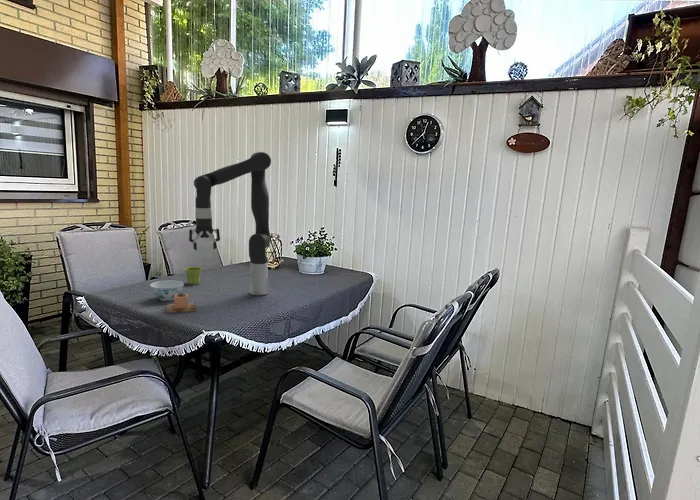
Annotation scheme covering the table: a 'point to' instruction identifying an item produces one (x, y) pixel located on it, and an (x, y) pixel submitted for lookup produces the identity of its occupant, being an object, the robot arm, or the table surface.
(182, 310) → the shaft block
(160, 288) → the chinaware
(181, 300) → the orange hollow square block
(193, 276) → the plant pot
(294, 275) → the table surface
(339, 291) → the table surface
